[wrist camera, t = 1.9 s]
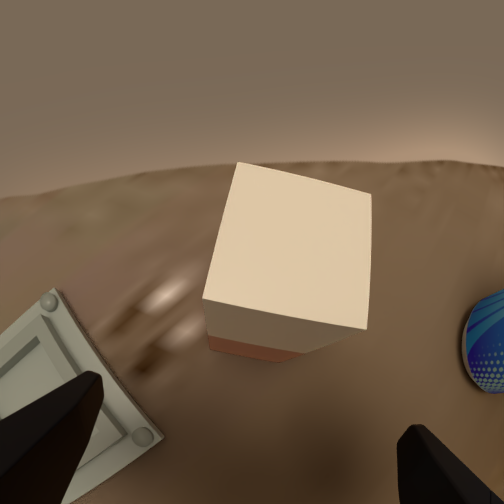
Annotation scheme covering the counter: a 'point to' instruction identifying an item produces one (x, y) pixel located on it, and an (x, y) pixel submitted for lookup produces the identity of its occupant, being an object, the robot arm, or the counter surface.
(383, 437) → the counter surface
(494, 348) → the beer can
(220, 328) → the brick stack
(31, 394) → the baseplate
